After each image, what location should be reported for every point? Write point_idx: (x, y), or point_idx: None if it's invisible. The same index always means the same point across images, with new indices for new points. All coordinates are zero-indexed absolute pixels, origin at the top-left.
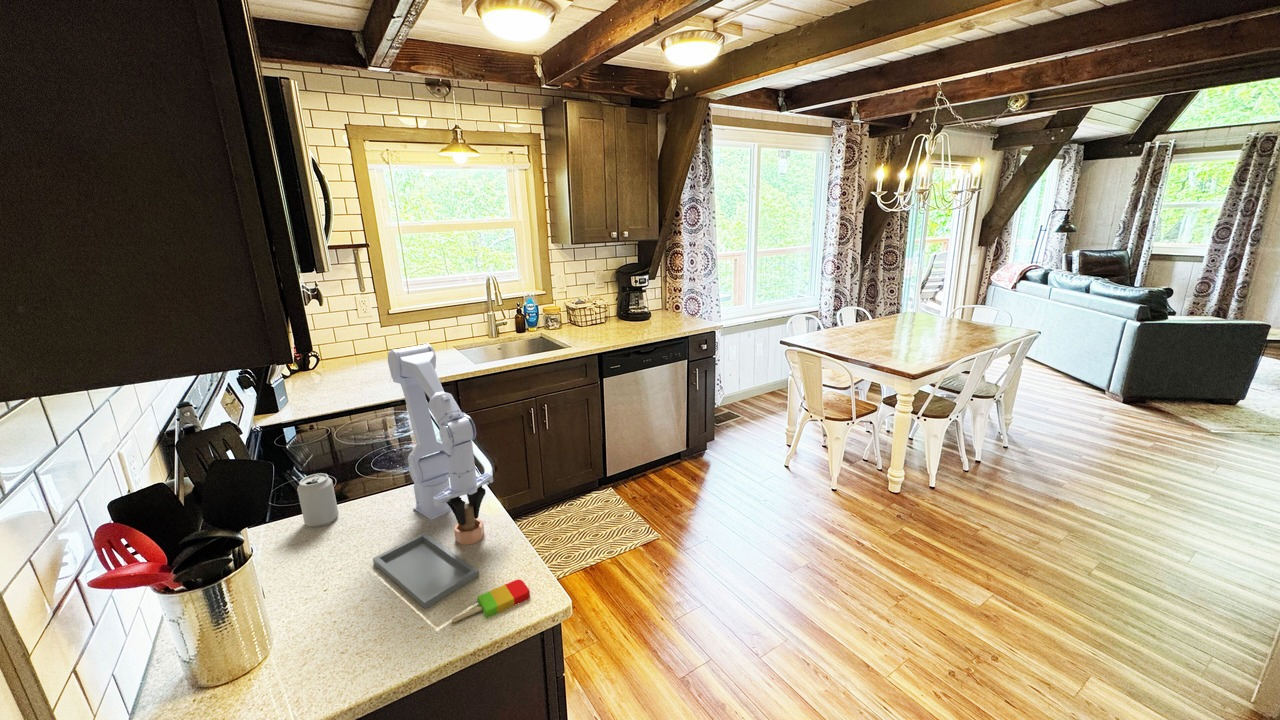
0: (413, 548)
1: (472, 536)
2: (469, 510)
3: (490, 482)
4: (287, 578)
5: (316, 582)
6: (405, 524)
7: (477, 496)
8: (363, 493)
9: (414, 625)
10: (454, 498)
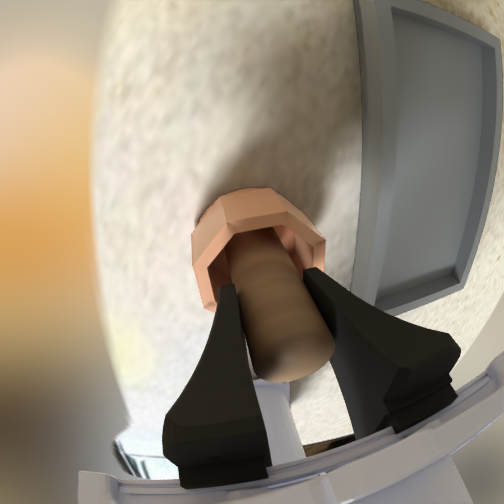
0: (395, 286)
1: (276, 202)
2: (299, 322)
3: (100, 477)
4: (485, 313)
5: (489, 284)
6: (331, 378)
7: (260, 409)
8: (312, 447)
9: (497, 31)
10: (434, 408)
